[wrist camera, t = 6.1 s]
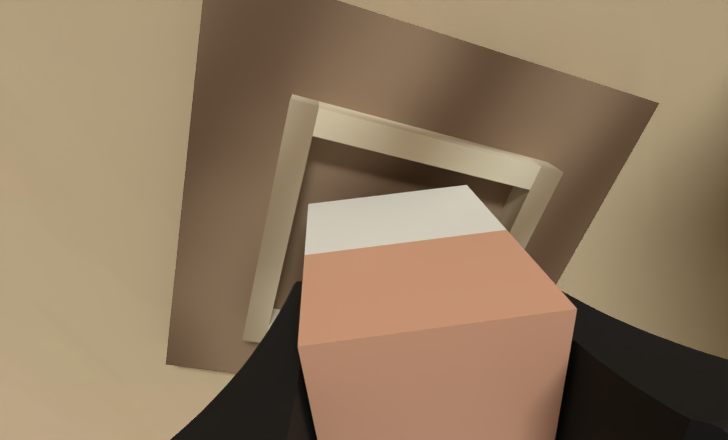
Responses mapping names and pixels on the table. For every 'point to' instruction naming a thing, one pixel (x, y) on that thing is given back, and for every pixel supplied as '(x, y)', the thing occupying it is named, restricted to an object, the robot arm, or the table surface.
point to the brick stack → (428, 323)
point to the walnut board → (366, 151)
